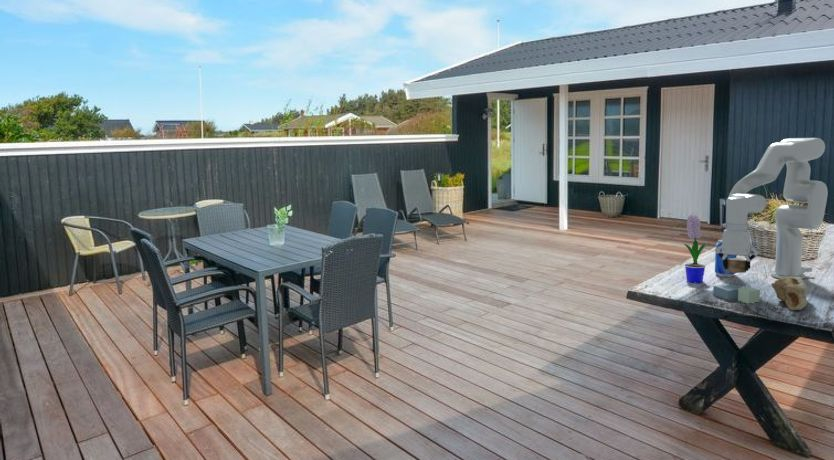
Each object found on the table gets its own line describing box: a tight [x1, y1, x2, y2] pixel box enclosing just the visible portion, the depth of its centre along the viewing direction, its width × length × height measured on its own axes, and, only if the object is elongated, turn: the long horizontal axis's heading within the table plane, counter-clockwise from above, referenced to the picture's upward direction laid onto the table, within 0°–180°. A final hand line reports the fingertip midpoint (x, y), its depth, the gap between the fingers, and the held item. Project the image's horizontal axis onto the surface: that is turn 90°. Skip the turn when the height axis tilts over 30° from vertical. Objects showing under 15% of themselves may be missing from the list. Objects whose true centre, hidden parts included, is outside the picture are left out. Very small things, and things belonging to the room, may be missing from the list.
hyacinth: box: [683, 213, 711, 284], centre depth 245 cm, size 9×10×30 cm
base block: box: [712, 283, 743, 301], centre depth 224 cm, size 8×8×4 cm
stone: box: [771, 276, 808, 311], centre depth 208 cm, size 17×12×10 cm
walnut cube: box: [727, 257, 747, 274], centre depth 232 cm, size 5×5×5 cm
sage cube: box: [737, 286, 761, 305], centre depth 215 cm, size 5×5×5 cm
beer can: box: [714, 238, 738, 278], centre depth 254 cm, size 8×8×16 cm
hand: (736, 269), depth 232 cm, fingers closed on walnut cube, 7 cm apart
